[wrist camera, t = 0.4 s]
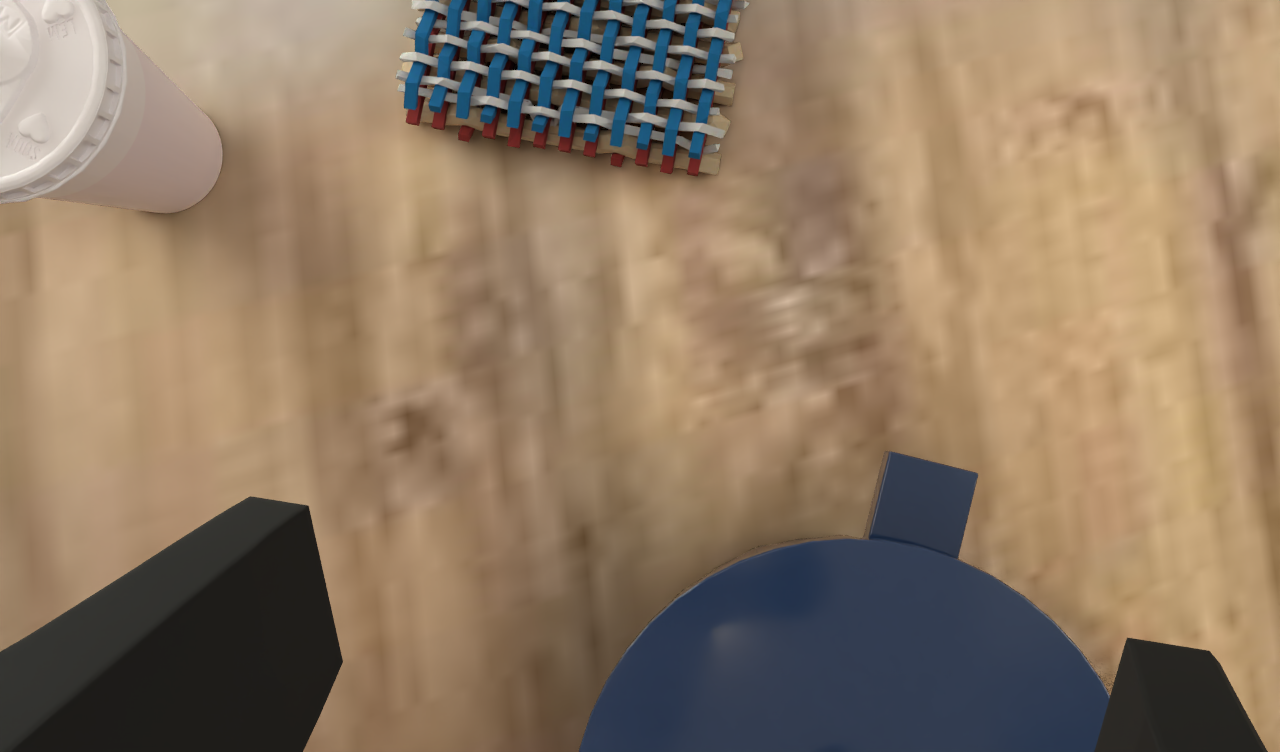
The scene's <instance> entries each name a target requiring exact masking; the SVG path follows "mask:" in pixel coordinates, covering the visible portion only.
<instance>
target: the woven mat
mask: <svg viewBox="0 0 1280 752" xmlns="http://www.w3.org/2000/svg"><path fill="white" fill-rule="evenodd" d="M552 1H553V0H478V2H475V1H471V0H412V9H417V10H418V11H425V12H424V14H423V16H422V18H420V17H418V19H417V20H416V24H417V26H418V28H417V30H416V31H414V30H412V29H409V28H407V27H406V28H405V31H404V34H403V36H405V37H408V38H411V39H414V40H415V52H407V53H402V54H401V56H400V59H401V60H402V61H403V65H402V71H401V70H398V71H397V74H396V79H399V80H402V81H405V85H403V84H400V85H399V88H398V90H397V91H400V92H405V97H404V108H406V116H407V118H406V122H407V123H408V124H412V125H418V126H419V124H420V121H421V122H428V123H432V126H431V127H433V128H434V129H440V130H444V129H445V125H462V126H461V128H460V131H459V133H458V140H462V141H466V142H469V140H470V138H471V136H472V134H473V132H474V130H475V129H478V130H480V131H483V132H482V136H483V137H485V138H490V139H495V136H496V135H500V136H506V137H509V139H508V145H507V146H511V147H517V148H520V142H521V139H522V140H528V141H533V147H537V148H542V149H545V146H546V144H550V145H555V146H558V150H559V151H562V152H567V153H571V148H572V149H577V150H583V151H584V152H583V155H585V156H589V157H594V158H595V155H596V153H599V154H601V153H612V156H611V165H613V166H618V167H621V166H622V163H623V160H624V158H625V156H627V157H630V158H633V159H635V164H636V165H638V166H645V167H647V165H648V162H649V163H654V164H659V165H661V169H660V172H663V173H668V174H671V173H672V172H673V167H676V168H681V169H686V170H688V171H687V174H688V175H693V176H698V172H702V173H708V174H713V175H717V174H718V171H719V166H720V160H721V154H717V153H714V152H718V149H719V146H720V144H713V145H709V146H705V142H706V137H707V134H709V135H712V136H715V137H719V138H723V137H724V136H725V134H726V132H727V129H728V127H729V125H730V123H731V121H730V120H728V119H727V118H726V117H724V116H723V115H721V114H720V111H719V108H712V107H713V103H718V104H724V105H729V106H731V105H732V101H733V95H734V90H735V83H729V82H724V81H719V80H718V76H720V77H724V78H728V79H731V78H732V73H733V70H730V69H724V68H720V66H722V67H724V66H727V65H729V64H734V63H735V62H737V61H740V60H742V59H743V55H742V50H741V46H740V42H738V43H725V40H726V41H729V42H732V41H733V40H734V37H735V33H736V30H737V27H738V24H739V21H740V12H738V11H734V10H737V9H745V8H746V7H747V6H748V5H749V4H750V3H748V2H746V1H736V0H557V2H552ZM497 2H506V3H505V6H498V5H496V4H497ZM522 6H524V7H526V8H529V9H528V11H527V10H521V9H522ZM577 6H578V7H577ZM579 7H582V8H579ZM551 10H557V12H556V14H555V15H550V14H548V12H549V11H551ZM600 10H601V11H600ZM572 14H574V15H576V17H571V16H572ZM627 15H630V16H634V17H633V18H632V17H629V16H627ZM446 16H447V20H445V19H446ZM650 19H653V20H650ZM606 20H608V21H606ZM622 22H623V23H626V24H628V25H630V26H632V29H631V28H626V27H621V26H622ZM685 22H686V27H684V26H682V25H679V23H685ZM703 23H705V24H708V25H710V26H713V28H706V29H702V27H703ZM660 28H661V29H660ZM440 29H446V33H444V32H439V31H440ZM648 29H660V32H659V33H655V32H649V31H648ZM465 30H472V33H471V35H470V37H469V36H464V32H465ZM674 31H676V32H678V33H680V34H683V35H684V37H678V36H673V32H674ZM732 32H733V33H732ZM490 34H494V35H497V36H498V37H494V38H490ZM709 37H712V40H711V42H707V41H701V40H699V38H709ZM518 39H523V41H522V42H521V41H519V40H518ZM540 42H541V43H545V44H549V49H542V48H539V45H540ZM596 43H598V44H596ZM599 44H602V45H599ZM565 47H576V49H575V51H574V54H571V53H565V52H564V51H565ZM618 49H621V50H618ZM624 50H627V51H624ZM592 52H594V53H597V54H599V55H600V59H599V58H593V57H590V55H591V53H592ZM434 53H438V54H439V56H438V58H435V57H433V56H434ZM643 53H644V54H643ZM648 54H650V55H648ZM459 57H463V58H467V61H459ZM671 58H673V59H671ZM615 59H620V60H626V62H625V63H622V62H616V61H615ZM674 59H679V60H681V61H678V60H674ZM485 61H487V62H490V61H492V62H491V64H490V66H489V67H487V66H484V63H485ZM694 62H696V63H702V64H707V65H706V66H702V65H694ZM515 63H516V64H518V70H512V69H513V66H514V64H515ZM641 63H646V64H642V65H641ZM534 70H538V71H543V72H542V74H541V76H537V75H534ZM703 73H705V77H698V76H693V75H692V74H703ZM562 75H567V76H569V80H561V79H562ZM585 79H589V80H594V83H593V85H589V84H586V83H585ZM610 83H612V84H617V85H621V89H609V85H610ZM427 86H429V87H434V90H431V89H427ZM642 87H648V89H647V92H646V96H644V95H641V94H638V93H636V88H642ZM664 88H665V89H668V90H670V91H672V92H674V94H673V99H661V97H662V93H663V90H664ZM452 91H457V92H458V93H457V94H454V93H452ZM425 97H429V98H430V101H429V102H426V101H424V100H425ZM687 97H688V98H693V99H698V100H699V104H698V105H695V104H692V103H689V102H686V101H687ZM450 102H452V103H450ZM534 104H537V106H533V105H534ZM479 105H485V107H484V109H482V108H480V107H479ZM556 106H558V107H559V109H558V111H556V110H555V109H556ZM501 108H503V109H506V110H508V114H502V113H500V112H501ZM526 114H530V116H531V118H532V119H530V118H525V115H526ZM577 122H578V123H587V127H586V128H580V127H576V123H577ZM630 123H636V124H641V127H635V126H631V125H629V124H630ZM601 126H602V127H605V128H607V129H610V130H604V131H600V130H601ZM655 127H658V128H664V129H665V133H663V132H658V131H654V128H655ZM686 131H694V133H693V137H692V142H691V141H690V140H688V139H686V138H684V137H681V136H680V132H686ZM652 139H655V140H660V141H664V142H663V143H658V142H653V141H652ZM678 145H680V146H682V147H680V146H678Z"/></svg>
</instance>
